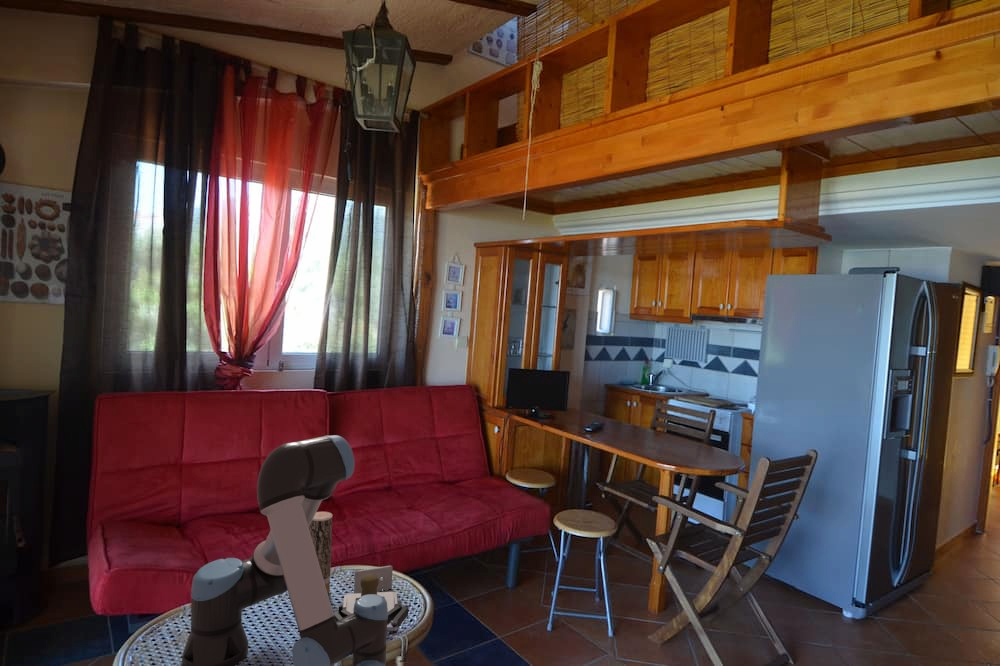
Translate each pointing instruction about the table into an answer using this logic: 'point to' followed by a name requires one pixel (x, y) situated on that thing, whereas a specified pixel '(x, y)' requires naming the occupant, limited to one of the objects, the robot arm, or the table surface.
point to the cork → (369, 584)
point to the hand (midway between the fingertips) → (370, 598)
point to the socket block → (387, 595)
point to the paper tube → (322, 543)
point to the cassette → (379, 572)
